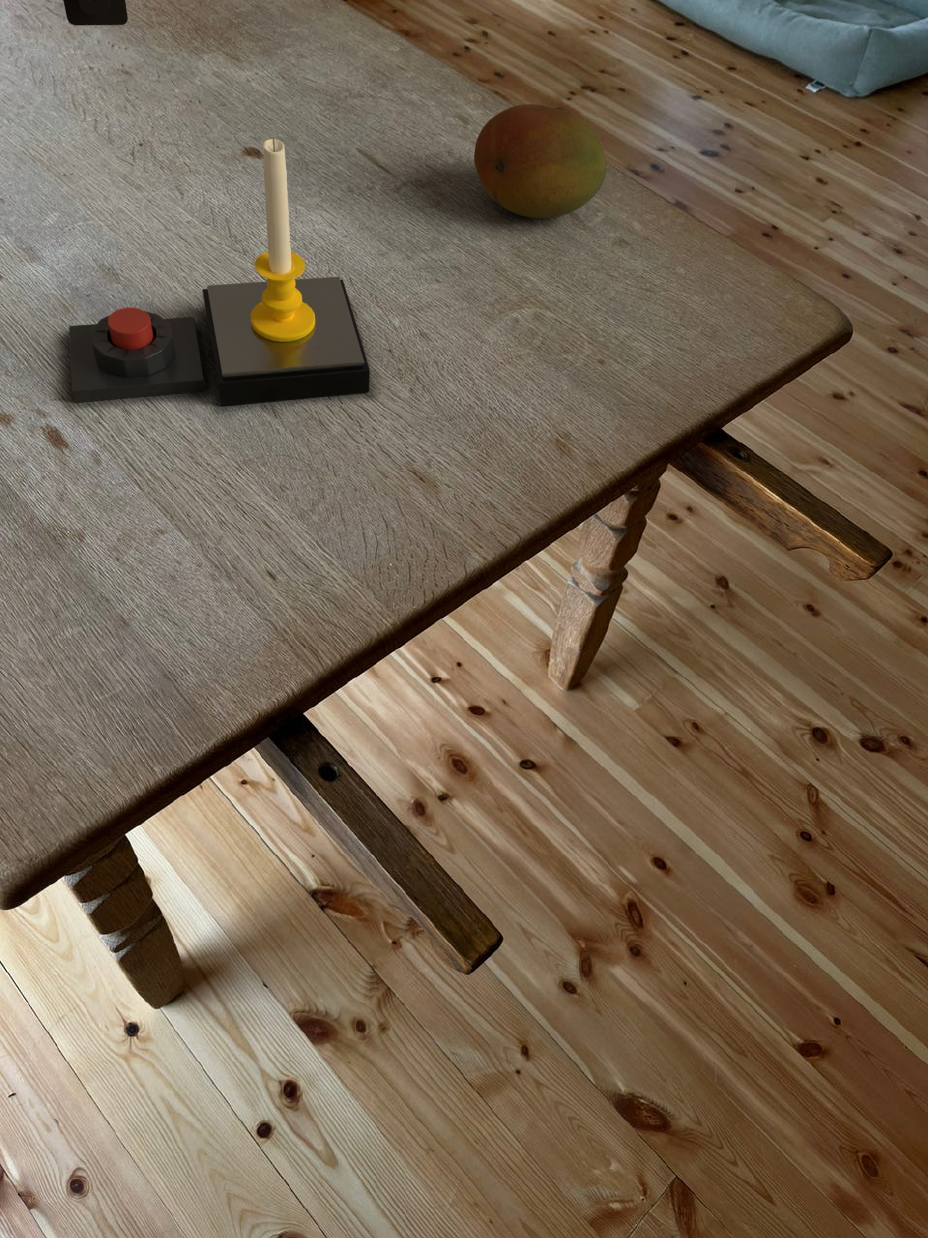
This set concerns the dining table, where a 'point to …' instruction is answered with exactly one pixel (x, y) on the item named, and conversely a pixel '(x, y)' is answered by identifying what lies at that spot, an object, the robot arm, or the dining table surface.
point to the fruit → (539, 161)
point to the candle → (279, 260)
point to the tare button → (130, 328)
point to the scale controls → (135, 362)
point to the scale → (284, 346)
